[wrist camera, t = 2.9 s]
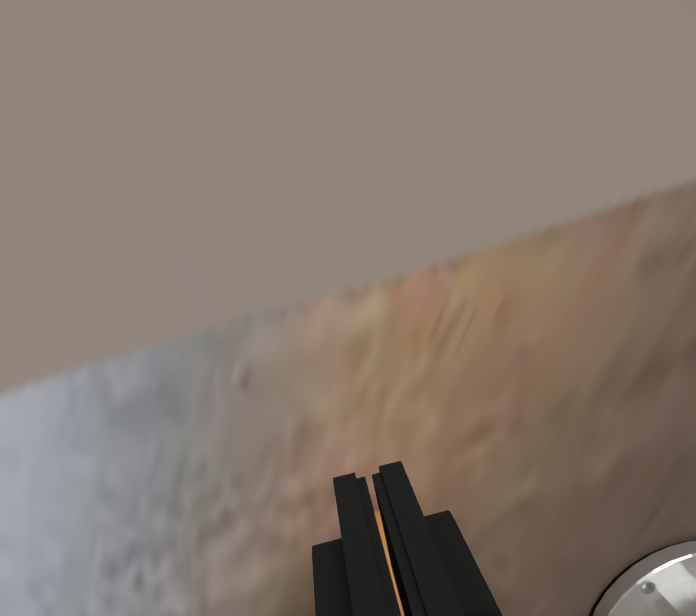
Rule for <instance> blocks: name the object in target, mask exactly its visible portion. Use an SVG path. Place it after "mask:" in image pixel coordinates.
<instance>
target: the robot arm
mask: <svg viewBox="0 0 696 616" xmlns="http://www.w3.org/2000/svg"><path fill="white" fill-rule="evenodd" d="M379 471H380V473H377V474H373V475H372V478H373V483H374V488H375V492H376V497H377V502H378V506H379V511H380V516H381V520H382V525H383V530H384V534H385V539H386V544H387V548H388V553H389V558H390V562H391V567H392V571H393V575H394V579H395V583H396V586H397V590H398V594H399V597H400V601H401V605H402V609H403V612H404V616H502V614H501V612H500V610H499V608H498V606H497V604H496V602H495V600H494V598H493V596H492V594H491V592H490V590H489V588H488V586H487V584H486V582H485V580H484V578H483V576H482V574H481V572H480V570H479V568H478V566H477V564H476V562H475V560H474V558H473V556H472V554H471V552H470V550H469V548H468V546H467V544H466V542H465V540H464V538H463V536H462V534H461V532H460V530H459V528H458V526H457V524H456V522H455V520H454V518H453V516H452V514H451V513H450V511H448V510H447V511H443V512H439V513H436V514H432V515H428V516H423V513H422V511H421V508H420V506H419V503H418V501H417V499H416V496H415V494H414V491H413V489H412V486H411V484H410V482H409V479H408V477H407V474H406V472H405V469H404V467H403V465H402V462H401V461H398V462H394V463H390V464H386V465H382V466H379ZM333 483H334V489H335V496H336V503H337V509H338V516H339V523H340V529H341V536H342V538H341V539H337V540H333V541H329V542H326V543H322V544H318V545H314V546H312V560H313V576H314V593H315V609H316V616H401V612H400V608H399V604H398V600H397V597H396V593H395V589H394V585H393V581H392V578H391V574H390V570H389V566H388V562H387V559H386V555H385V551H384V547H383V543H382V540H381V536H380V532H379V528H378V524H377V521H376V517H375V513H374V509H373V505H372V501H371V498H370V494H369V490H368V486H367V482H366V479H365V477H361V478H357V479H356V476H355V473H351V474H347V475H343V476H339V477H335V478H333ZM593 616H696V541H689V542H684V543H681V544H677V545H673V546H669V547H667V548H664V549H662V550H660V551H657V552H655V553H653V554H651V555H649V556H647V557H646V558H644V559H642V560H641V561H639V562H638V563H636V564H634V565H633V566H632V567H631V568H629V569H628V570H627V571H626V572H625V573H623V574H622V575H621V576H620V577H619V578H618V579H617V580H616V581H615V582H614V583H613V584H612V586H611V587H610V588H609V589H608V590H607V591H606V593H605V594H604V596H603V597H602V599H601V600H600V602H599V603H598V605H597V607H596V609H595V611H594V614H593Z"/></svg>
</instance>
